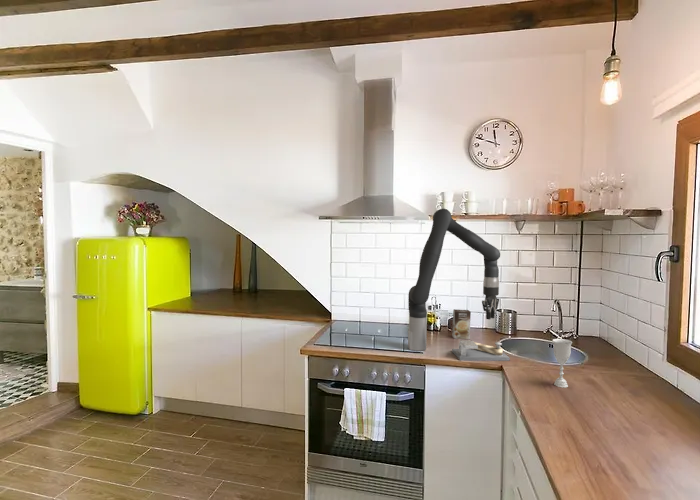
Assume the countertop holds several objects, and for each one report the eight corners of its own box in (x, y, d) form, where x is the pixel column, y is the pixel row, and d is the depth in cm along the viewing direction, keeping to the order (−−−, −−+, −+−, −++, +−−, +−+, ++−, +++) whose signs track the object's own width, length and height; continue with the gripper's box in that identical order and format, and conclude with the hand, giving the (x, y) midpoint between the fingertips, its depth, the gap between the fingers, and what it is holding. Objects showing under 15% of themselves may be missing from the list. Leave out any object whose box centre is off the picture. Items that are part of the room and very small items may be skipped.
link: (504, 354, 191) (504, 349, 191) (500, 355, 188) (500, 350, 188) (471, 345, 204) (471, 341, 204) (467, 347, 202) (467, 342, 202)
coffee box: (454, 338, 225) (454, 311, 224) (452, 335, 231) (452, 309, 231) (470, 339, 224) (470, 311, 223) (467, 336, 231) (468, 309, 230)
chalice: (560, 389, 153) (561, 344, 152) (547, 382, 160) (548, 339, 159) (575, 387, 155) (576, 342, 154) (561, 381, 162) (563, 338, 161)
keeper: (462, 360, 186) (462, 345, 186) (457, 354, 195) (457, 340, 195) (477, 360, 186) (477, 345, 186) (471, 354, 195) (471, 340, 195)
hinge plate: (460, 360, 187) (460, 345, 186) (452, 351, 201) (452, 337, 200) (509, 360, 187) (510, 345, 187) (498, 351, 201) (498, 337, 201)
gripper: (491, 283, 208) (490, 315, 209) (477, 286, 199) (476, 319, 199) (504, 285, 202) (503, 318, 203) (490, 287, 193) (489, 321, 194)
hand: (490, 318), depth 201 cm, fingers open, 3 cm apart
